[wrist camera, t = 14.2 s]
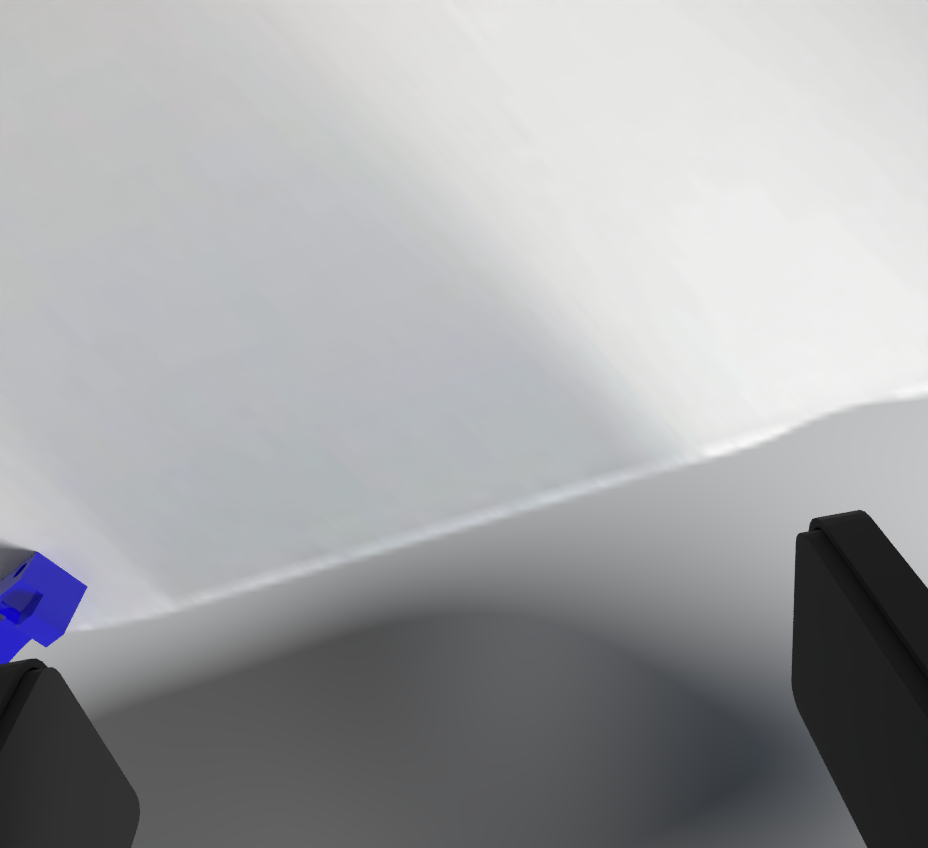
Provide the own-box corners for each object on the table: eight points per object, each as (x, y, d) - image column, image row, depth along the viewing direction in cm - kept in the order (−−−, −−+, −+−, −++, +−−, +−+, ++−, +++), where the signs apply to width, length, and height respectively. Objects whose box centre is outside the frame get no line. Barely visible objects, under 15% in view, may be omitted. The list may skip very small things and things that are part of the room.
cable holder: (38, 549, 47) (8, 598, 43) (88, 584, 48) (63, 634, 45) (-47, 618, 49) (-82, 669, 45) (3, 649, 50) (-27, 701, 47)
